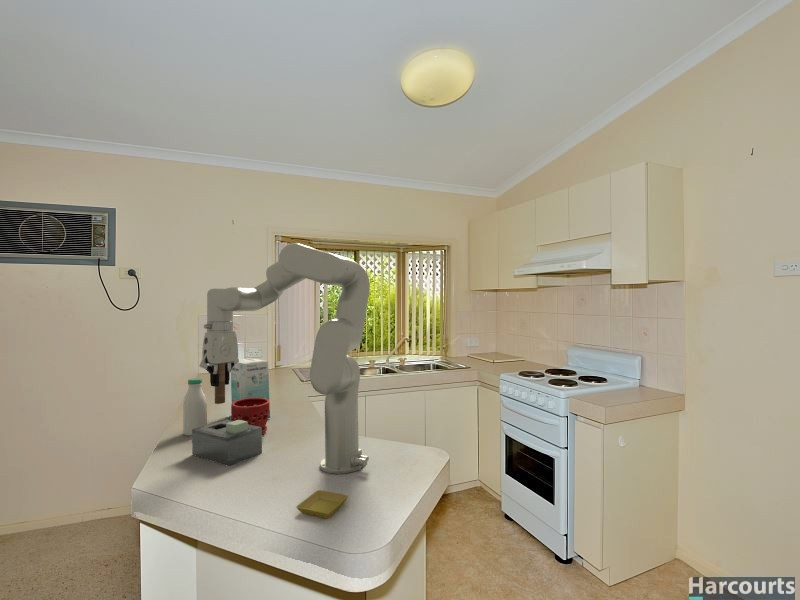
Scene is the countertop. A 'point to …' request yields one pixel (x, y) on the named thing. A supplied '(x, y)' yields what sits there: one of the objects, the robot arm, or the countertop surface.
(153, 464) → the countertop surface
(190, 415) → the milk bottle
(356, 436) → the robot arm
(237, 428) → the on button
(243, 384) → the toothbrush box
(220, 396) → the stylus dowel
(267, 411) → the plant pot
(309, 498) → the olive square dish
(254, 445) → the grey box
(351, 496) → the countertop surface
